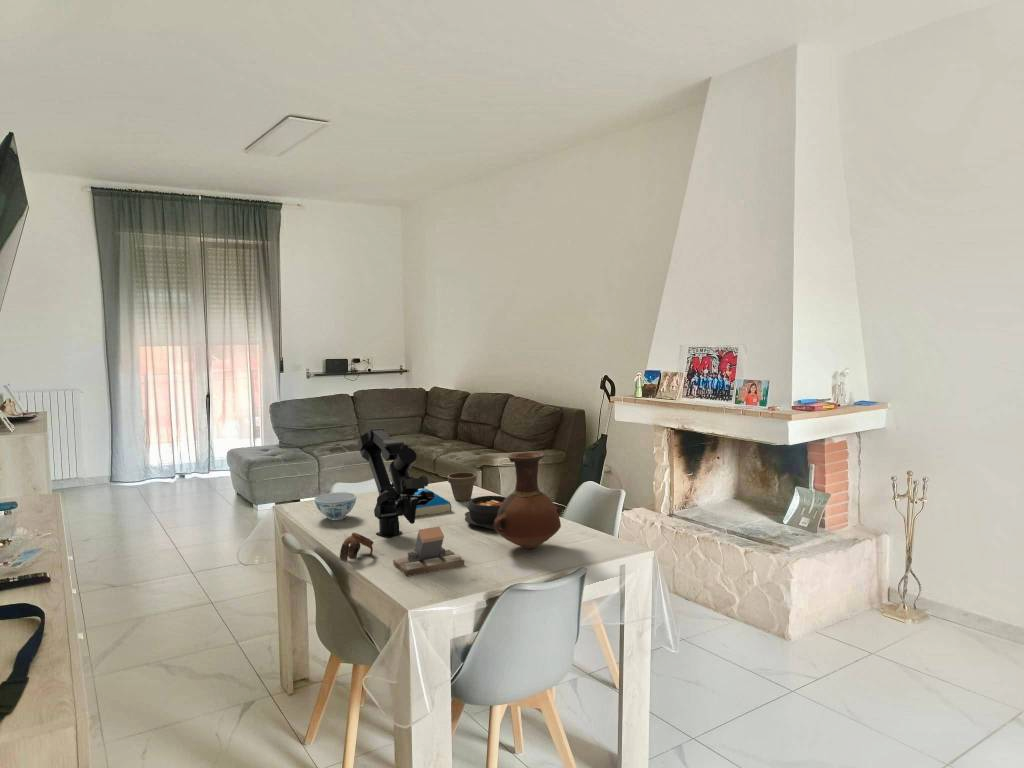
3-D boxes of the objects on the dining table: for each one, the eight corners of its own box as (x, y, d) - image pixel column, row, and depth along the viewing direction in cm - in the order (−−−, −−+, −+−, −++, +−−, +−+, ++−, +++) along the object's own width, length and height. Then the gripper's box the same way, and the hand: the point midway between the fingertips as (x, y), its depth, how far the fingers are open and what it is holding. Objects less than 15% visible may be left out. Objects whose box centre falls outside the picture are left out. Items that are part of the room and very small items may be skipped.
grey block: (413, 553, 208) (418, 529, 203) (434, 549, 211) (439, 526, 207) (417, 563, 205) (422, 539, 200) (439, 559, 209) (444, 535, 204)
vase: (535, 533, 236) (535, 445, 234) (578, 547, 221) (578, 453, 219) (478, 549, 220) (476, 455, 218) (519, 565, 205) (518, 465, 203)
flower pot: (452, 504, 275) (452, 479, 274) (444, 497, 286) (444, 473, 285) (480, 501, 279) (480, 476, 278) (471, 494, 290) (471, 470, 289)
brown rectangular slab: (393, 564, 207) (393, 552, 207) (449, 554, 216) (449, 542, 216) (406, 576, 198) (406, 563, 197) (464, 565, 206) (464, 552, 206)
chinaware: (307, 521, 253) (306, 500, 252) (329, 511, 267) (328, 491, 267) (343, 524, 249) (343, 503, 248) (364, 513, 263) (363, 493, 262)
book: (409, 508, 257) (387, 492, 279) (409, 519, 258) (388, 503, 280) (452, 501, 265) (428, 487, 287) (452, 513, 266) (428, 497, 288)
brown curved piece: (338, 554, 219) (350, 529, 220) (366, 567, 219) (378, 542, 221) (334, 557, 207) (346, 531, 209) (363, 570, 207) (375, 544, 209)
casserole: (531, 528, 242) (531, 505, 241) (482, 537, 233) (482, 512, 232) (498, 511, 264) (498, 490, 263) (453, 518, 255) (452, 496, 254)
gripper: (390, 465, 213) (402, 512, 206) (438, 467, 226) (451, 511, 219) (371, 481, 219) (382, 528, 212) (419, 482, 232) (430, 526, 225)
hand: (412, 523), depth 217 cm, fingers closed
